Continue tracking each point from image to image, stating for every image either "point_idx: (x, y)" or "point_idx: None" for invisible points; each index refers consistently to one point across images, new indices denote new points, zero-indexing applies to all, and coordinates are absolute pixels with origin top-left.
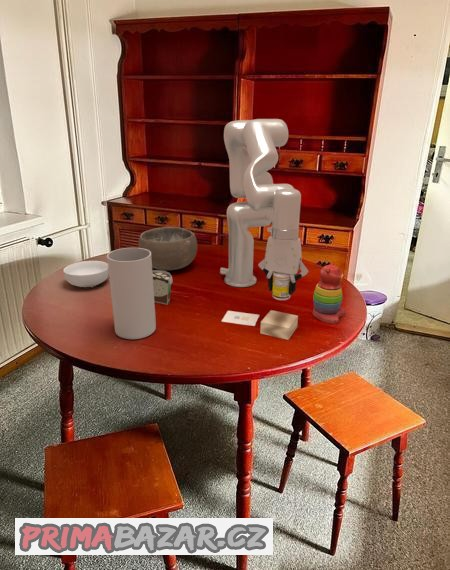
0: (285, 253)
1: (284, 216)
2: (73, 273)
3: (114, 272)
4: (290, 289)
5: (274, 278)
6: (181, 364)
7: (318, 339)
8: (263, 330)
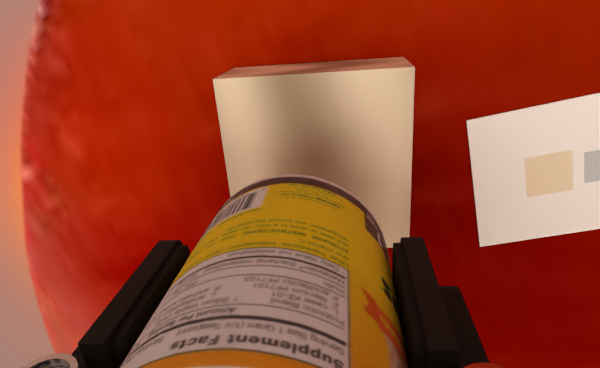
0: None
1: None
2: None
3: None
4: (138, 274)
5: (353, 352)
6: None
7: (115, 149)
8: (386, 61)
